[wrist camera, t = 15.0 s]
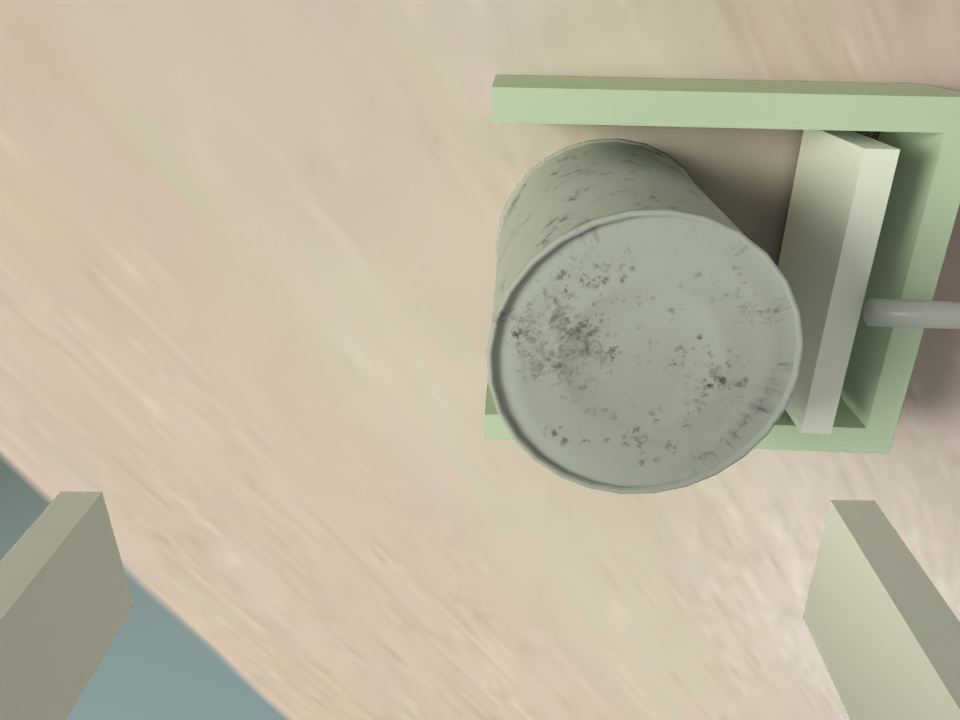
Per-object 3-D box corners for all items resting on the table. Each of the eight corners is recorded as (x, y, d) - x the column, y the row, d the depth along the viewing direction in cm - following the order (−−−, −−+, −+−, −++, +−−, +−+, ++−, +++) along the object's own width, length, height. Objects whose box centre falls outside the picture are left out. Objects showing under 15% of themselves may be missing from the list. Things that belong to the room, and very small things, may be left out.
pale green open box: (488, 386, 38) (484, 438, 33) (495, 75, 32) (491, 86, 27) (843, 398, 37) (888, 453, 33) (921, 84, 31) (989, 97, 26)
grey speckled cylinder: (642, 91, 32) (709, 140, 20) (748, 274, 35) (857, 402, 24) (454, 220, 34) (424, 325, 23) (569, 379, 37) (590, 539, 26)
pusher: (758, 368, 36) (817, 458, 29) (804, 123, 32) (889, 158, 24) (943, 374, 36) (1049, 467, 29) (1018, 128, 31) (1167, 165, 24)
